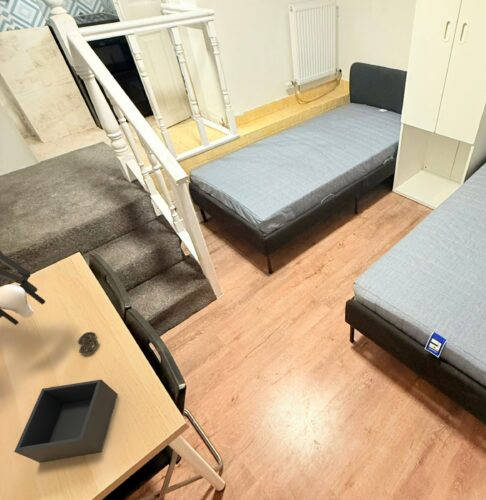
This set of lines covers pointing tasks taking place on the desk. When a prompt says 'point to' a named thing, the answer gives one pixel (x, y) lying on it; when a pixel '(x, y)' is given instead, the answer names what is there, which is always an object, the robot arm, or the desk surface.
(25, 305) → the lightbulb
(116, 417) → the desk surface
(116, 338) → the desk surface
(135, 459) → the desk surface
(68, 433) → the bin
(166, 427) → the desk surface
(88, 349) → the corroded twin loop
